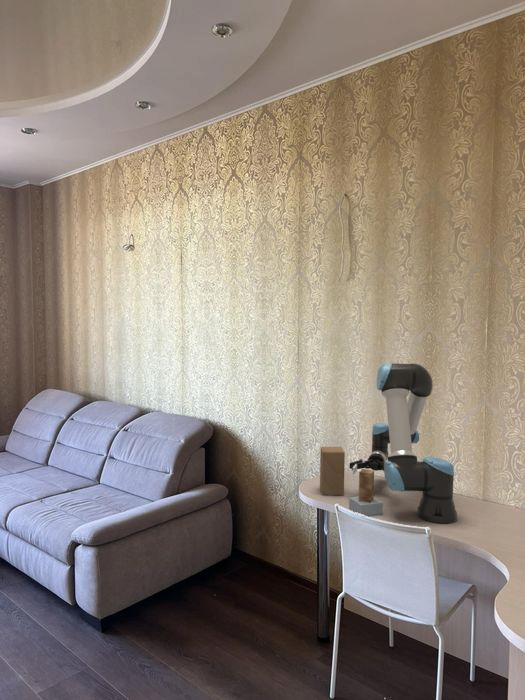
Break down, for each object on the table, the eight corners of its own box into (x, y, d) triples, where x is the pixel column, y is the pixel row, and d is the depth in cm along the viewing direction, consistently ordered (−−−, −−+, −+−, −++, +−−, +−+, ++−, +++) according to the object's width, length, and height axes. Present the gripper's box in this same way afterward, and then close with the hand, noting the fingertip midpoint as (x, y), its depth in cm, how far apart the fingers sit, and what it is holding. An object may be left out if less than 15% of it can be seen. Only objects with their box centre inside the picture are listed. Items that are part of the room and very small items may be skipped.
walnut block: (373, 498, 211) (374, 470, 210) (370, 502, 206) (371, 473, 206) (361, 497, 213) (362, 468, 212) (358, 500, 208) (359, 472, 208)
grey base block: (382, 515, 206) (382, 502, 206) (360, 517, 203) (360, 505, 203) (370, 506, 216) (370, 495, 216) (349, 508, 213) (349, 497, 213)
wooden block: (344, 495, 228) (344, 452, 228) (321, 495, 229) (322, 451, 228) (341, 488, 238) (341, 446, 238) (319, 488, 239) (320, 446, 238)
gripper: (403, 471, 233) (399, 485, 213) (350, 465, 242) (340, 478, 222) (404, 455, 233) (399, 467, 213) (350, 450, 241) (340, 461, 222)
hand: (369, 472), depth 217 cm, fingers open, 13 cm apart
